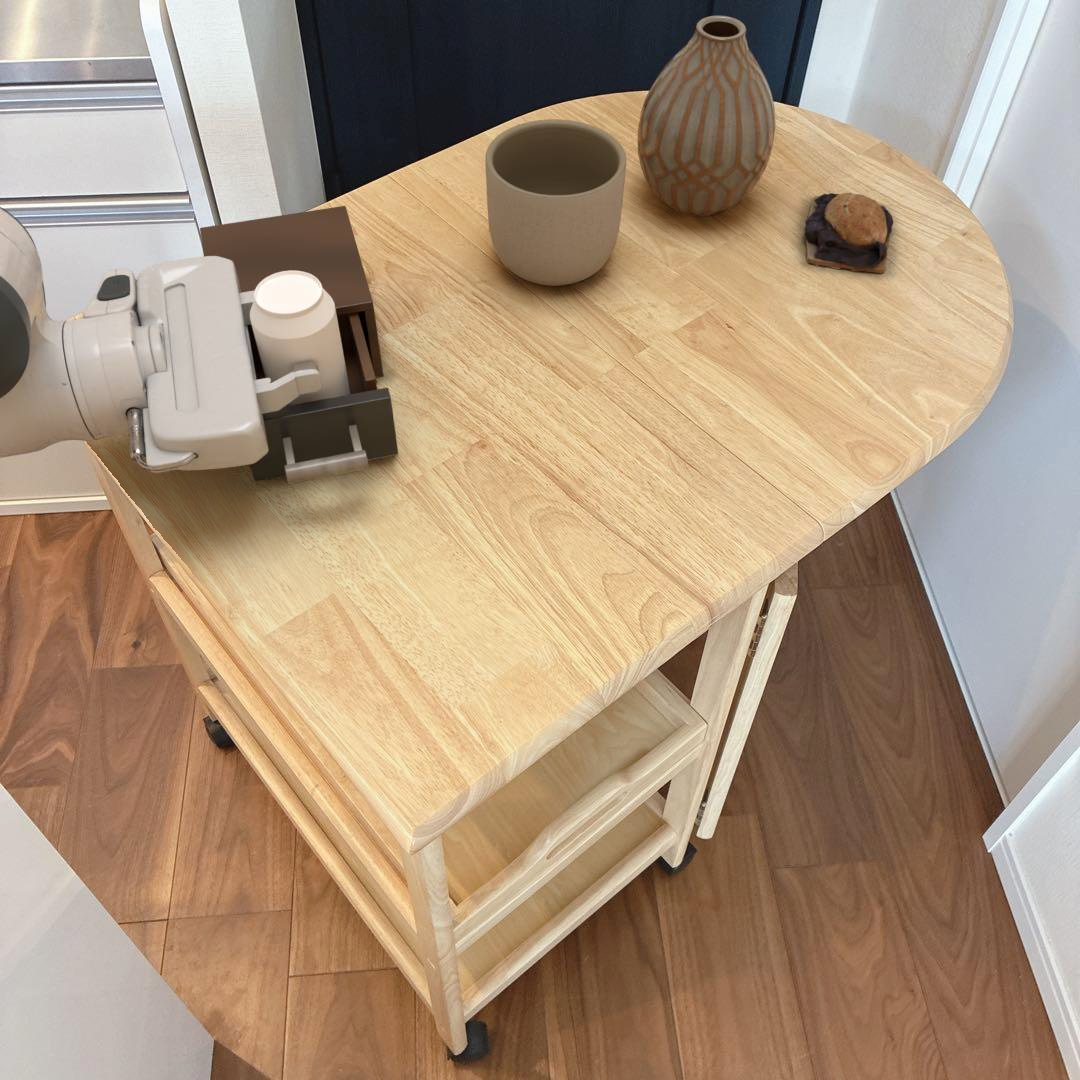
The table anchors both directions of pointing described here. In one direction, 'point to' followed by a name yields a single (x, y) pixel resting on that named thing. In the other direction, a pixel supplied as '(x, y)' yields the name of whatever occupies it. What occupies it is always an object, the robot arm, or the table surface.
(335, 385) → the beverage can
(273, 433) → the drawer
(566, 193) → the planter
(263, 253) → the cabinet
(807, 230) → the bread roll
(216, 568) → the table surface
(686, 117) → the vase
